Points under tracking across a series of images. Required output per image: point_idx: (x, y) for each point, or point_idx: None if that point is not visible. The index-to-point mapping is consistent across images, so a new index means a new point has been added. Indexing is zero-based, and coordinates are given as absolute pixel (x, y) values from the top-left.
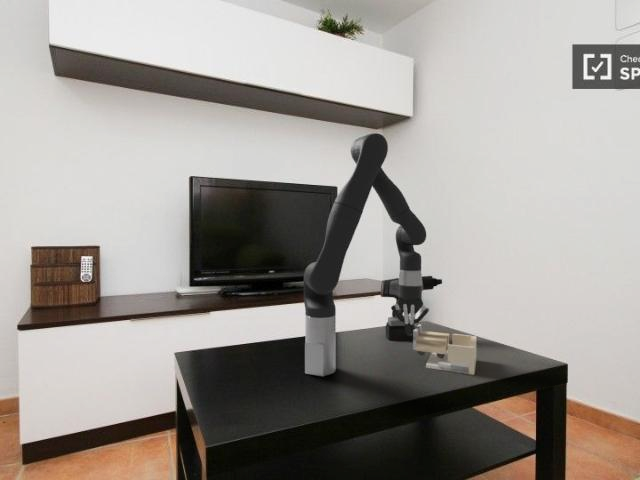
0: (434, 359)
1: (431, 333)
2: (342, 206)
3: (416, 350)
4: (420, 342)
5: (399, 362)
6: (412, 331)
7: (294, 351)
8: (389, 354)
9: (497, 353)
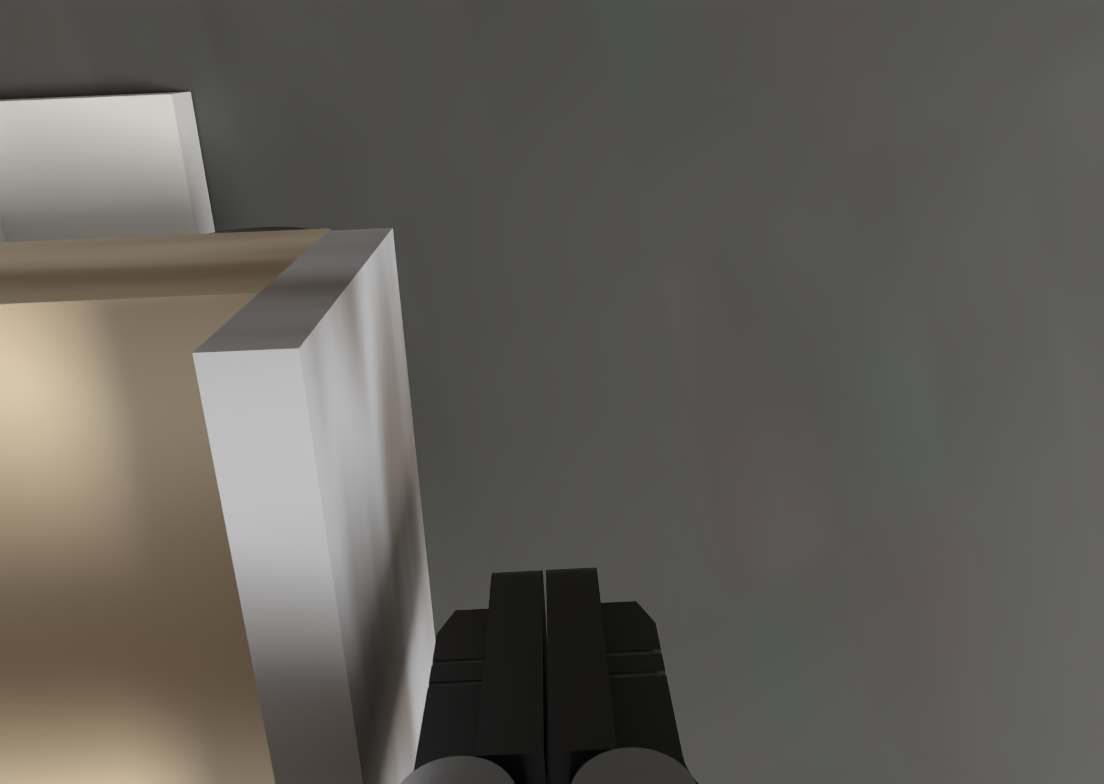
0: None
1: None
2: None
3: (325, 230)
4: (183, 274)
5: (631, 141)
6: (461, 647)
7: None
8: (852, 425)
9: None
